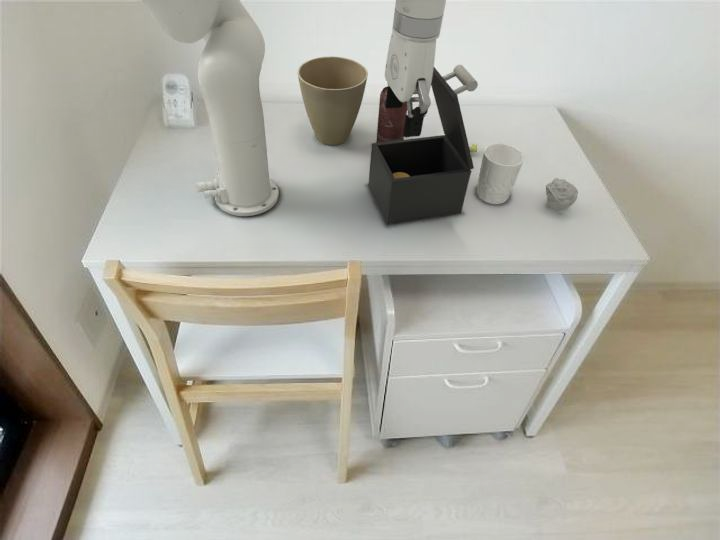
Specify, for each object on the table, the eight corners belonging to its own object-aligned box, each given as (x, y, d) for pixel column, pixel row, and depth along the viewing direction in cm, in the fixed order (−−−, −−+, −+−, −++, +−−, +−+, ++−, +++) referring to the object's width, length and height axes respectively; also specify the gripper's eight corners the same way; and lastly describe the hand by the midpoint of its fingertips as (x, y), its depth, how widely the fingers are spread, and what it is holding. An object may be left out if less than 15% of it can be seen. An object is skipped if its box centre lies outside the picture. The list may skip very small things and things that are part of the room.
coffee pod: (391, 205, 104) (394, 185, 100) (385, 193, 107) (387, 173, 103) (410, 203, 105) (413, 183, 101) (404, 190, 108) (407, 170, 104)
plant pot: (291, 126, 124) (288, 61, 113) (349, 116, 129) (351, 52, 117) (312, 160, 115) (311, 93, 103) (373, 148, 119) (379, 83, 108)
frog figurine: (532, 200, 109) (543, 173, 104) (562, 197, 110) (573, 169, 105) (546, 219, 105) (558, 192, 100) (577, 215, 106) (590, 188, 101)
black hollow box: (386, 225, 101) (391, 181, 94) (368, 185, 110) (371, 143, 102) (460, 213, 105) (471, 171, 97) (437, 176, 113) (445, 134, 106)
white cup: (465, 191, 110) (475, 151, 103) (489, 178, 114) (501, 138, 106) (494, 211, 106) (507, 170, 99) (518, 197, 110) (532, 156, 102)
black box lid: (452, 97, 84) (484, 81, 84) (424, 62, 93) (453, 48, 92) (470, 170, 97) (497, 157, 97) (444, 133, 105) (469, 121, 105)
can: (401, 157, 117) (408, 100, 107) (373, 153, 118) (378, 95, 108) (405, 143, 122) (412, 86, 111) (378, 139, 122) (383, 82, 112)
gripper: (377, 2, 85) (368, 98, 98) (413, 47, 74) (397, 150, 86) (420, 1, 87) (405, 95, 99) (461, 45, 76) (439, 146, 88)
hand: (402, 121), depth 93 cm, fingers open, 9 cm apart
